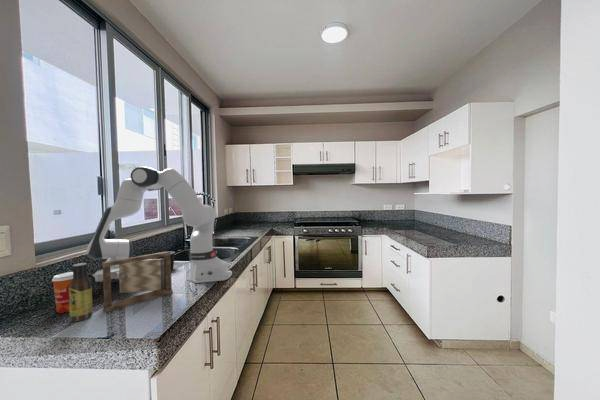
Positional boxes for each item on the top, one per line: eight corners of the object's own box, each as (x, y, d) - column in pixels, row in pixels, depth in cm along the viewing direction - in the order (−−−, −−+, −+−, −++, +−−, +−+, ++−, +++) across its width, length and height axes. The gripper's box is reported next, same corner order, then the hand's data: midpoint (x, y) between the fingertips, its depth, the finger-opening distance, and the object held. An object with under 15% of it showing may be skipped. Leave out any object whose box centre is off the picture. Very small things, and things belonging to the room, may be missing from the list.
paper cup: (48, 312, 94) (46, 276, 94) (72, 304, 101) (71, 270, 101) (60, 316, 91) (59, 278, 91) (84, 307, 99) (83, 272, 98)
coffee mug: (178, 268, 150) (178, 251, 150) (167, 272, 142) (167, 255, 142) (162, 267, 153) (162, 251, 153) (151, 271, 145) (150, 254, 145)
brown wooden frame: (168, 289, 115) (166, 250, 115) (172, 293, 111) (171, 252, 111) (103, 307, 98) (101, 261, 97) (106, 312, 94) (104, 264, 93)
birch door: (165, 289, 112) (164, 258, 112) (162, 291, 109) (161, 260, 108) (122, 291, 110) (121, 260, 110) (117, 294, 107) (116, 262, 107)
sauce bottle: (68, 318, 89) (66, 264, 89) (90, 312, 94) (89, 260, 93) (71, 324, 85) (69, 267, 85) (94, 317, 90) (92, 263, 89)
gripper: (92, 267, 113) (96, 274, 104) (143, 258, 128) (151, 263, 118) (92, 281, 113) (96, 288, 104) (143, 270, 128) (151, 276, 118)
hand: (126, 275), depth 111 cm, fingers closed
